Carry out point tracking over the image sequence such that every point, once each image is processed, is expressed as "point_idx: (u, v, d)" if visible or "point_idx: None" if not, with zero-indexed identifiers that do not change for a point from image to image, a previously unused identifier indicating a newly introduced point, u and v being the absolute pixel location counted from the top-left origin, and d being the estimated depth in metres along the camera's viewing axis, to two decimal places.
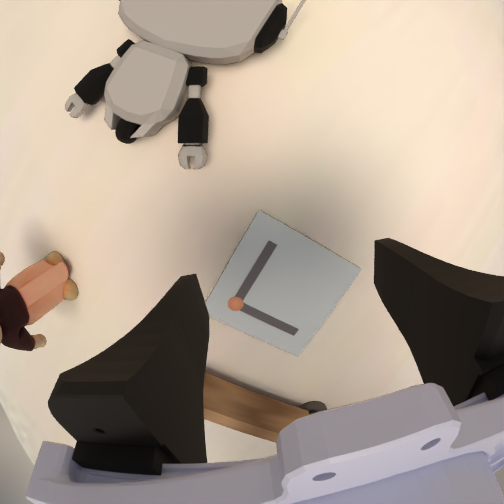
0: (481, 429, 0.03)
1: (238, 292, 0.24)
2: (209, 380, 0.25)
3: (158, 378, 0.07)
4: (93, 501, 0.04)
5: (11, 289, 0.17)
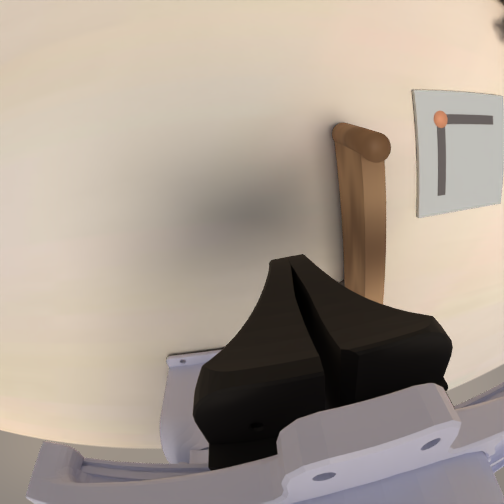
0: (481, 429, 0.03)
1: (450, 115, 0.17)
2: None
3: None
4: (93, 501, 0.04)
5: None
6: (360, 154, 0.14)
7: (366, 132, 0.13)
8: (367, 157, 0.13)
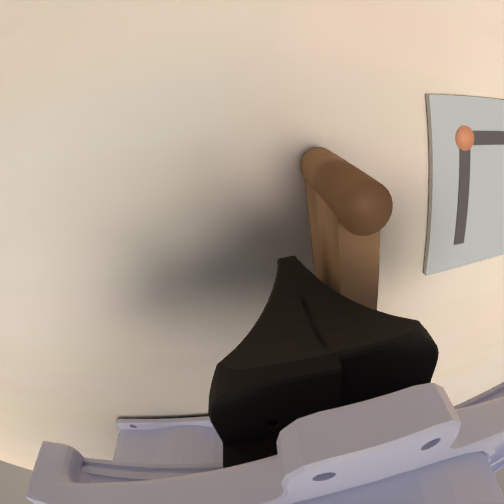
0: (481, 429, 0.03)
1: (478, 132, 0.11)
2: None
3: None
4: (93, 501, 0.04)
5: None
6: (336, 217, 0.08)
7: (348, 178, 0.07)
8: (347, 227, 0.07)
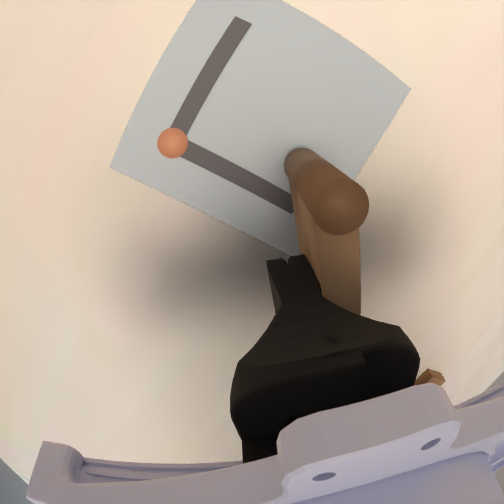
0: (481, 429, 0.03)
1: (177, 118, 0.11)
2: None
3: None
4: (93, 501, 0.04)
5: None
6: (313, 216, 0.08)
7: (323, 177, 0.07)
8: (322, 227, 0.07)
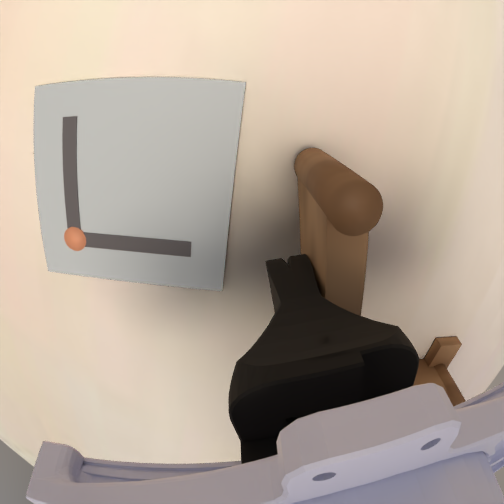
0: (481, 429, 0.03)
1: (68, 219, 0.12)
2: None
3: None
4: (93, 501, 0.04)
5: None
6: (326, 215, 0.08)
7: (340, 177, 0.07)
8: (336, 226, 0.07)
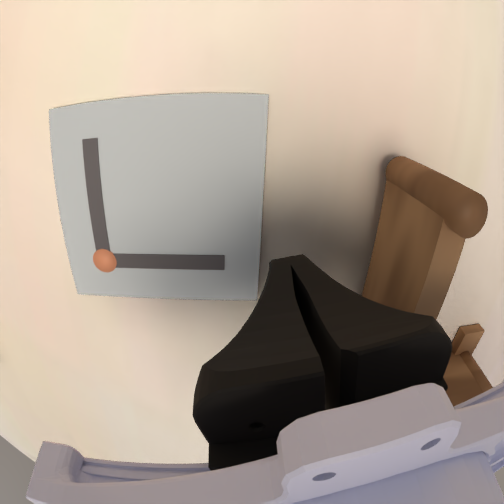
0: (481, 429, 0.03)
1: (96, 241, 0.13)
2: None
3: None
4: (93, 501, 0.04)
5: None
6: (440, 218, 0.08)
7: (460, 187, 0.08)
8: (455, 227, 0.08)
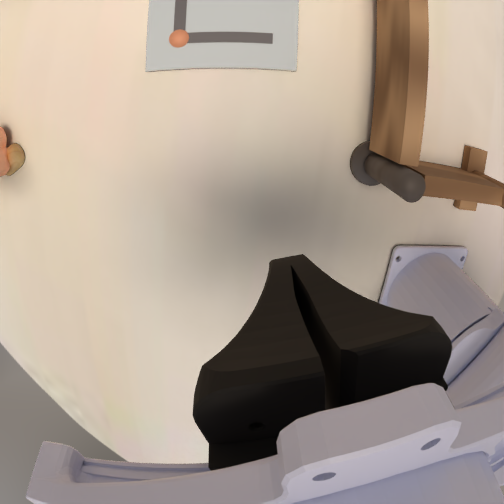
0: (481, 429, 0.03)
1: (175, 25, 0.15)
2: None
3: None
4: (93, 501, 0.04)
5: None
6: None
7: None
8: None
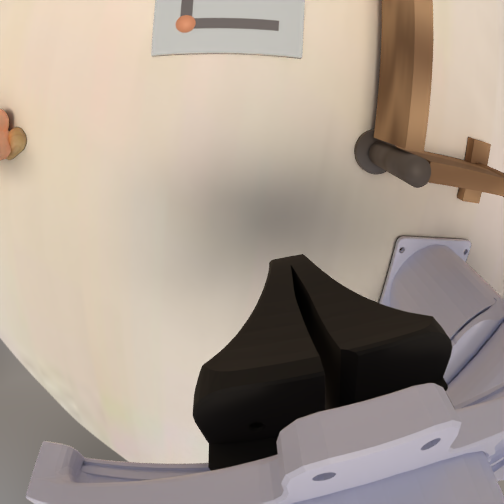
0: (481, 429, 0.03)
1: (182, 10, 0.14)
2: None
3: None
4: (93, 501, 0.04)
5: None
6: None
7: None
8: None
